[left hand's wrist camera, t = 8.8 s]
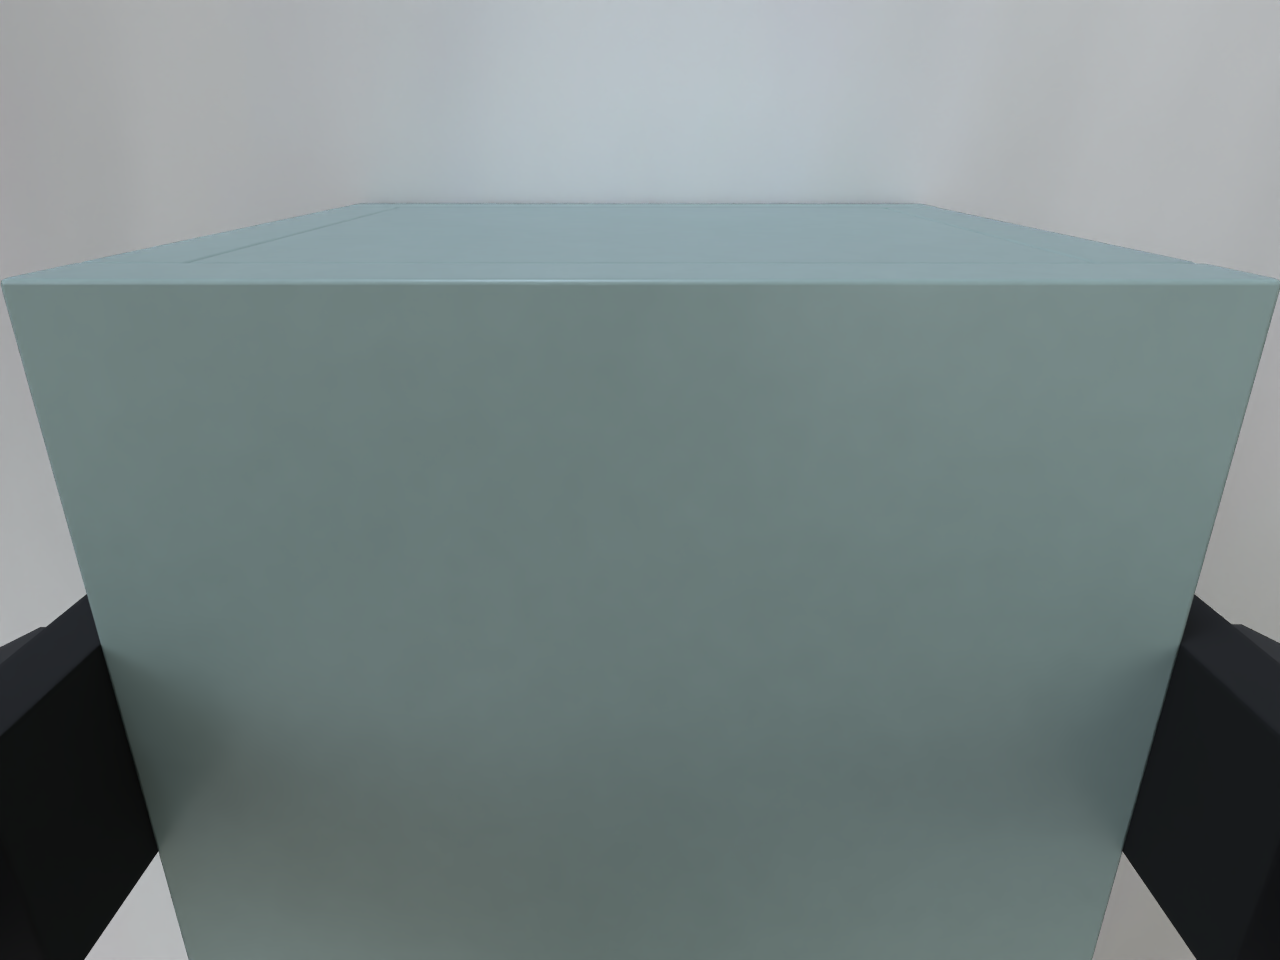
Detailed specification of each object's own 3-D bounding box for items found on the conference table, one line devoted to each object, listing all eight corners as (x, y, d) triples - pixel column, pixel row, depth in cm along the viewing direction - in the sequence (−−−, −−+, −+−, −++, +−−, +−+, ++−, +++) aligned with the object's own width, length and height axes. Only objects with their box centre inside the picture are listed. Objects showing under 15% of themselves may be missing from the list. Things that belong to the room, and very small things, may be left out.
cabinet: (828, 990, 24) (942, 1499, 15) (451, 990, 24) (337, 1499, 15) (922, 203, 16) (1285, 280, 7) (357, 203, 16) (-5, 278, 7)
